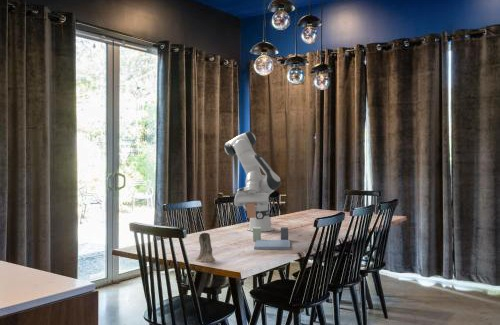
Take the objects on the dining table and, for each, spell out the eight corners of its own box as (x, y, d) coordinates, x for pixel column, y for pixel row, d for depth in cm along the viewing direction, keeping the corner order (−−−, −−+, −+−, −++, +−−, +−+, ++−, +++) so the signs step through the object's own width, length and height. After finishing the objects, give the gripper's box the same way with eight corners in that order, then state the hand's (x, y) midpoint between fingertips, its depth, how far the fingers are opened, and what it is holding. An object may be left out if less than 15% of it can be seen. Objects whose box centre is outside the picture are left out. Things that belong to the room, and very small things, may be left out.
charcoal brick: (281, 240, 273) (280, 227, 273) (288, 240, 273) (288, 227, 272) (281, 241, 268) (280, 228, 268) (288, 241, 268) (288, 228, 268)
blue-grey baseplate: (256, 242, 267) (256, 239, 267) (289, 242, 265) (289, 239, 265) (254, 249, 247) (254, 246, 247) (290, 249, 245) (290, 246, 245)
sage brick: (253, 240, 274) (253, 227, 274) (260, 240, 274) (260, 227, 274) (253, 241, 270) (253, 228, 270) (260, 241, 269) (260, 228, 269)
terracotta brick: (247, 217, 256) (247, 203, 256) (255, 217, 255) (255, 203, 256) (247, 218, 251) (246, 204, 252) (255, 217, 251) (254, 203, 251)
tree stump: (201, 263, 217) (200, 235, 217) (192, 259, 225) (192, 233, 225) (219, 260, 222) (218, 233, 222) (209, 257, 231) (209, 231, 231)
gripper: (269, 195, 264) (269, 213, 254) (236, 196, 266) (234, 214, 256) (269, 188, 260) (268, 205, 250) (234, 189, 262) (233, 207, 252)
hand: (251, 210), depth 253 cm, fingers closed on terracotta brick, 4 cm apart
